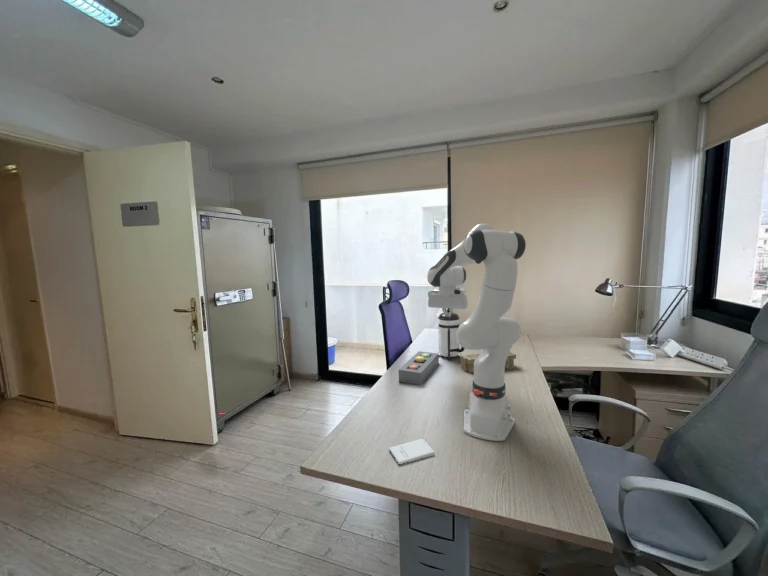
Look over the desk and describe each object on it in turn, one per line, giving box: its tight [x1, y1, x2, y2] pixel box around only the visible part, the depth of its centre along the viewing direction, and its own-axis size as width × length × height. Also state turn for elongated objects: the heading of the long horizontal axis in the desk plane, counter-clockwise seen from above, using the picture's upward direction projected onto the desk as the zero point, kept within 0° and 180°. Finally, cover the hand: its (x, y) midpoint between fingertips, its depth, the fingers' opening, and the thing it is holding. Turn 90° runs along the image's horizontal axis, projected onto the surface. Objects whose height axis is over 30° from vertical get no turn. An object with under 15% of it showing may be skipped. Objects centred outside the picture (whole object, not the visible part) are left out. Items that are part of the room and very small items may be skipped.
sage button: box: [421, 353, 430, 358], centre depth 178 cm, size 5×5×2 cm
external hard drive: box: [388, 438, 436, 464], centre depth 100 cm, size 2×8×12 cm
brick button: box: [409, 365, 419, 370], centre depth 160 cm, size 5×5×2 cm
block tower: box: [460, 350, 517, 374], centre depth 171 cm, size 8×8×29 cm
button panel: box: [398, 350, 440, 385], centre depth 169 cm, size 32×12×6 cm, turn 155°
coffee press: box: [437, 308, 465, 361], centre depth 191 cm, size 17×16×30 cm
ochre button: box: [415, 356, 424, 363], centre depth 169 cm, size 5×5×2 cm
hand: (447, 316), depth 162 cm, fingers closed
